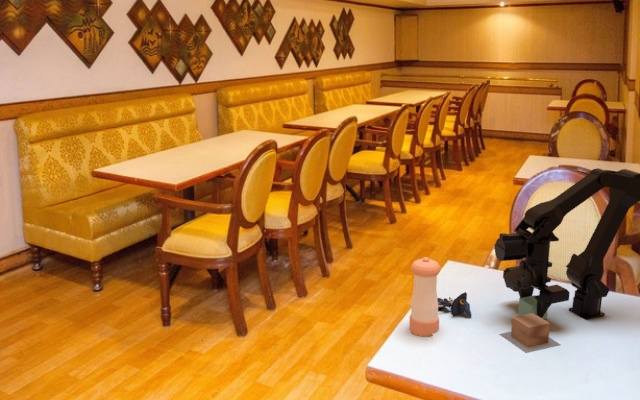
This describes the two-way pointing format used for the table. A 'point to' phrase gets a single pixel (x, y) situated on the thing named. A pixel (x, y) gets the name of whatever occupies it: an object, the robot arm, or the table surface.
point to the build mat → (533, 348)
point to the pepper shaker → (424, 298)
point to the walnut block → (530, 329)
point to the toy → (456, 304)
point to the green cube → (528, 306)
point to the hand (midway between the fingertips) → (532, 314)
